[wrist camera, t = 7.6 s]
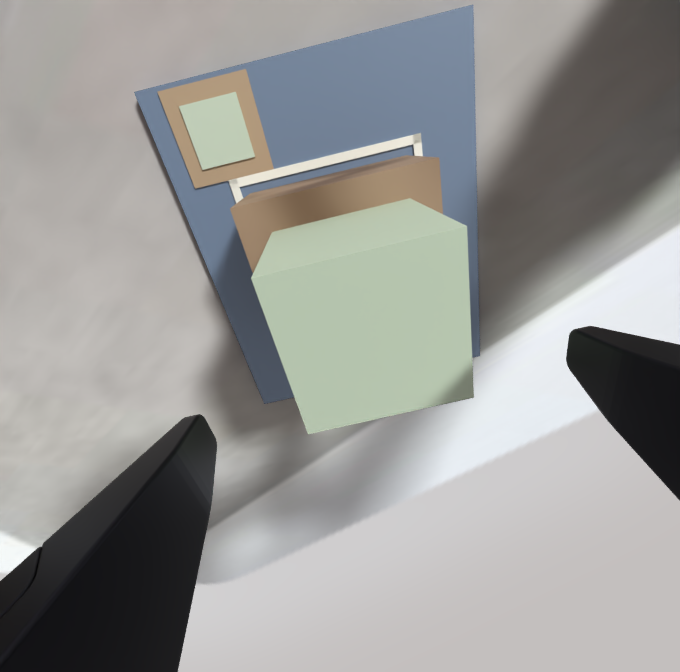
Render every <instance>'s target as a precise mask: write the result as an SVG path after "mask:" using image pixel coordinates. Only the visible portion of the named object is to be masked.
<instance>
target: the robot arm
mask: <svg viewBox="0 0 680 672" xmlns="http://www.w3.org/2000/svg"><path fill="white" fill-rule="evenodd" d="M566 361H567V365H568V367H569V369H570V371H571V372H572V373H573V375H574V376H575V377H576V379H577V380H578V382H579V383H580V384H581V386H582V387H583V388H584V390H585V391H586V392H587V394H588V395H589V397H590V398H591V399H592V401H593V402H594V403H595V405H596V406H597V407H598V409H599V410H600V411H601V413H602V414H603V415H604V416H605V418H606V419H607V420H608V422H609V423H610V424H611V425H612V426H613V427H614V429H615V430H616V431H617V432H618V433H619V434H620V435H621V436H622V437H623V438H624V439H625V441H627V443H628V444H629V445H630V446H631V447H632V448H633V449H634V451H635V452H636V453H637V454H638V455H639V456H640V457H641V458H642V459H643V461H644V462H645V463H646V464H647V465H648V466H649V467H650V468H651V469H652V470H653V472H654V473H655V474H656V475H657V476H658V477H659V478H660V479H661V480H662V481H663V482H664V484H665V485H666V486H667V487H668V488H669V489H670V490H671V491H672V492H673V494H674V495H675V496H676V497H677V498H678V499H679V500H680V345H679V344H674V343H669V342H665V341H660V340H655V339H650V338H646V337H641V336H636V335H632V334H627V333H622V332H617V331H613V330H608V329H603V328H599V327H594V326H587V327H583V328H578V329H574V330H573V331H571V333H570V335H569V341H568V349H567V357H566ZM216 452H217V442H216V438H215V436H214V434H213V432H212V431H211V429H210V427H209V425H208V423H207V421H206V419H205V418H204V417H203V416H202V415H200V414H198V415H193V416H189V417H185V418H183V419H182V420H181V421H180V422H178V423H177V424H176V425H175V426H174V427H173V428H172V429H171V430H169V431H168V432H167V433H166V434H165V435H164V436H163V437H162V438H161V439H159V440H158V441H157V442H156V443H155V444H154V445H153V446H152V447H150V448H149V449H148V450H147V451H146V452H145V453H144V454H143V455H142V456H140V457H139V458H138V459H137V460H136V461H135V462H134V463H133V464H131V465H130V466H129V467H128V468H127V469H126V470H125V471H124V472H122V473H121V474H120V475H119V476H118V477H117V478H116V479H115V480H114V481H112V482H111V483H110V484H109V485H108V486H107V487H106V488H105V489H103V490H102V491H101V492H100V493H99V494H98V495H97V496H96V497H94V498H93V499H92V500H91V501H90V502H89V503H88V504H87V505H86V506H84V507H83V508H82V509H81V510H80V511H79V512H78V513H77V514H75V515H74V516H73V517H72V518H71V519H70V520H69V521H68V522H66V523H65V524H64V525H63V526H62V527H61V528H60V529H59V530H58V531H56V532H55V533H54V534H53V535H52V536H51V537H50V538H49V539H47V540H46V541H45V542H44V543H43V545H42V547H39V548H37V549H36V550H35V551H34V552H33V553H32V554H31V555H29V556H28V557H27V558H26V559H25V560H24V561H23V562H22V563H21V564H19V565H18V566H17V567H16V568H15V569H14V570H13V571H11V572H10V573H9V574H8V575H7V576H6V577H5V578H3V579H2V580H1V581H0V672H178V667H179V662H180V657H181V653H182V647H183V643H184V638H185V633H186V628H187V623H188V618H189V613H190V609H191V604H192V599H193V593H194V589H195V584H196V579H197V574H198V569H199V565H200V560H201V555H202V550H203V545H204V540H205V535H206V530H207V525H208V521H209V515H210V510H211V503H212V495H213V484H214V474H215V463H216Z"/></svg>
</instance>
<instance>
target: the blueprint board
mask: <svg viewBox="0 0 680 672" xmlns="http://www.w3.org/2000/svg"><path fill="white" fill-rule="evenodd" d="M134 93H135V96H136V98H137V100H138V103H139V105H140V107H141V110H142V112H143V115H144V117H145V119H146V122H147V124H148V127H149V129H150V131H151V134H152V136H153V139H154V141H155V143H156V146H157V148H158V151H159V153H160V155H161V158H162V160H163V162H164V165H165V167H166V170H167V172H168V174H169V177H170V179H171V182H172V184H173V186H174V189H175V191H176V194H177V196H178V198H179V201H180V203H181V206H182V208H183V210H184V213H185V215H186V217H187V220H188V222H189V225H190V227H191V229H192V232H193V234H194V237H195V239H196V241H197V244H198V246H199V249H200V251H201V253H202V256H203V258H204V261H205V263H206V265H207V268H208V270H209V273H210V275H211V277H212V280H213V282H214V284H215V287H216V289H217V292H218V294H219V296H220V299H221V301H222V304H223V306H224V308H225V311H226V313H227V316H228V318H229V320H230V323H231V325H232V328H233V330H234V332H235V335H236V337H237V339H238V342H239V344H240V347H241V349H242V351H243V354H244V356H245V359H246V361H247V363H248V366H249V368H250V371H251V373H252V375H253V378H254V380H255V383H256V385H257V387H258V390H259V392H260V394H261V397H262V399H263V402H264V404H266V403H271V402H275V401H280V400H284V399H289V398H293V397H294V395H293V392H292V389H291V386H290V384H289V381H288V378H287V375H286V373H285V370H284V367H283V364H282V362H281V359H280V356H279V354H278V351H277V348H276V345H275V343H274V340H273V337H272V334H271V332H270V329H269V326H268V323H267V321H266V318H265V315H264V312H263V310H262V307H261V304H260V302H259V299H258V296H257V293H256V291H255V288H254V285H253V282H252V280H251V277H252V275H253V272H252V270H251V267H250V264H249V261H248V258H247V256H246V253H245V250H244V247H243V244H242V241H241V239H240V236H239V233H238V230H237V227H236V225H235V222H234V219H233V216H232V213H231V210H230V208H231V207H232V206H234V205H235V204H236V203H238V202H239V201H240V200H242V199H243V198H245V197H246V196H247V195H249V194H250V193H254V192H258V191H262V190H266V189H270V188H274V187H278V186H282V185H287V184H291V183H295V182H299V181H303V180H307V179H311V178H315V177H319V176H323V175H327V174H331V173H336V172H340V171H344V170H348V169H352V168H356V167H360V166H364V165H368V164H372V163H376V162H380V161H385V160H389V159H393V158H397V157H401V156H405V155H410V156H426V157H439V160H440V176H441V191H442V206H443V215H445V216H447V217H449V218H451V219H454V220H456V221H458V222H460V223H462V224H464V225H466V226H467V238H468V263H469V289H470V315H471V341H472V358H473V357H477V356H480V331H479V279H478V226H477V174H476V122H475V70H474V17H473V5H470V6H466V7H462V8H458V9H454V10H450V11H446V12H443V13H439V14H435V15H431V16H427V17H423V18H419V19H415V20H412V21H408V22H404V23H400V24H396V25H392V26H388V27H384V28H381V29H377V30H373V31H369V32H365V33H361V34H357V35H354V36H350V37H346V38H342V39H338V40H334V41H330V42H326V43H323V44H319V45H315V46H311V47H307V48H303V49H299V50H295V51H292V52H288V53H284V54H280V55H276V56H272V57H268V58H264V59H261V60H257V61H253V62H249V63H245V64H241V65H237V66H234V67H230V68H226V69H222V70H218V71H214V72H210V73H206V74H203V75H199V76H195V77H191V78H187V79H183V80H179V81H175V82H172V83H168V84H164V85H160V86H156V87H152V88H148V89H144V90H141V91H137V92H134Z"/></svg>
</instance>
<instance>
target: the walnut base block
mask: <svg viewBox="0 0 680 672" xmlns="http://www.w3.org/2000/svg"><path fill="white" fill-rule="evenodd" d="M409 198H411V199H413V200H415V201H417V202H419V203H421V204H423V205H425V206H427V207H429V208H431V209H433V210H435V211H437V212H439V213H441V214H443V206H442V191H441V176H440V160H439V157H426V156H410V155H405V156H401V157H397V158H393V159H389V160H385V161H380V162H376V163H372V164H368V165H364V166H360V167H356V168H352V169H348V170H344V171H340V172H336V173H331V174H327V175H323V176H319V177H315V178H311V179H307V180H303V181H299V182H295V183H291V184H287V185H282V186H278V187H274V188H270V189H266V190H262V191H258V192H254V193H250V194H249V195H247V196H246V197H245V198H243V199H242V200H240V201H239V202H238V203H236V204H235V205H234V206H232V207H231V208H230V210H231V213H232V216H233V219H234V222H235V225H236V227H237V230H238V233H239V236H240V239H241V241H242V244H243V247H244V250H245V253H246V256H247V258H248V261H249V264H250V267H251V270H252V272H253V273H254V271H255V268H256V266H257V264H258V262H259V260H260V257H261V255H262V253H263V251H264V249H265V246H266V244H267V242H268V240H269V238H270V235H271V233H272V232H274V231H278V230H283V229H287V228H291V227H295V226H299V225H303V224H307V223H311V222H315V221H319V220H323V219H327V218H331V217H335V216H339V215H344V214H348V213H352V212H356V211H360V210H364V209H368V208H372V207H376V206H380V205H384V204H388V203H392V202H396V201H400V200H404V199H409Z"/></svg>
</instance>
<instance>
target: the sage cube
mask: <svg viewBox="0 0 680 672" xmlns="http://www.w3.org/2000/svg"><path fill="white" fill-rule="evenodd" d="M251 280H252V282H253V285H254V288H255V291H256V293H257V296H258V299H259V302H260V304H261V307H262V310H263V312H264V315H265V318H266V321H267V323H268V326H269V329H270V332H271V334H272V337H273V340H274V343H275V345H276V348H277V351H278V354H279V356H280V359H281V362H282V364H283V367H284V370H285V373H286V375H287V378H288V381H289V384H290V386H291V389H292V392H293V395H294V397H295V400H296V403H297V405H298V408H299V411H300V414H301V416H302V419H303V422H304V425H305V427H306V430H307V433H308V434H312V433H316V432H321V431H325V430H330V429H334V428H339V427H343V426H348V425H352V424H357V423H361V422H366V421H370V420H375V419H379V418H384V417H388V416H393V415H397V414H402V413H406V412H411V411H415V410H420V409H424V408H429V407H433V406H438V405H442V404H447V403H451V402H456V401H460V400H465V399H469V398H474V392H473V366H472V341H471V315H470V289H469V263H468V238H467V226H466V225H464V224H462V223H460V222H458V221H456V220H454V219H451V218H449V217H447V216H445V215H443V214H441V213H439V212H437V211H435V210H433V209H431V208H429V207H427V206H425V205H423V204H421V203H419V202H417V201H415V200H413V199H411V198H409V199H404V200H400V201H396V202H392V203H388V204H384V205H380V206H376V207H372V208H368V209H364V210H360V211H356V212H352V213H348V214H344V215H339V216H335V217H331V218H327V219H323V220H319V221H315V222H311V223H307V224H303V225H299V226H295V227H291V228H287V229H283V230H278V231H274V232H272V233H271V235H270V238H269V240H268V242H267V244H266V246H265V249H264V251H263V253H262V255H261V257H260V260H259V262H258V264H257V266H256V268H255V271H254V273H253V275H252V277H251Z"/></svg>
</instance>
